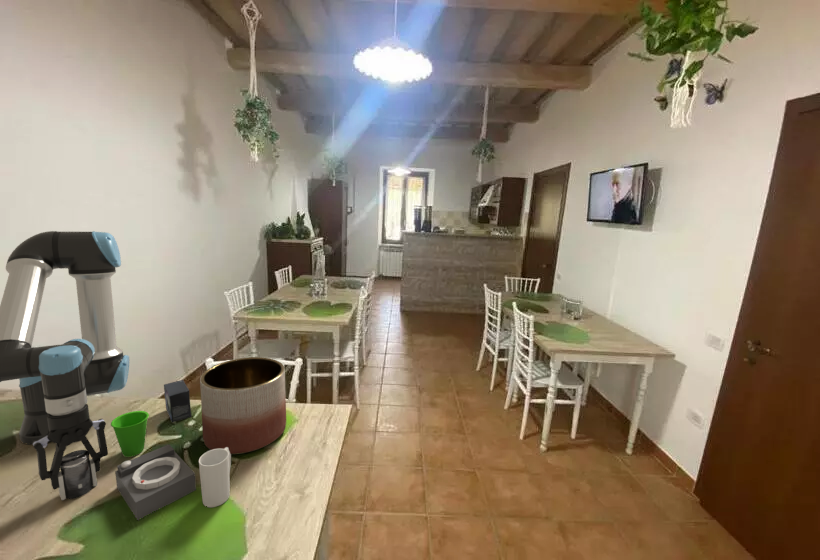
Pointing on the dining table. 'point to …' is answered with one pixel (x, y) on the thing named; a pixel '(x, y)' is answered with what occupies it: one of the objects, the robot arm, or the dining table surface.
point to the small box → (177, 400)
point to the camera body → (154, 480)
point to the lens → (76, 474)
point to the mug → (215, 476)
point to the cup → (131, 432)
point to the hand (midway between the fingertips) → (78, 489)
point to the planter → (243, 404)
